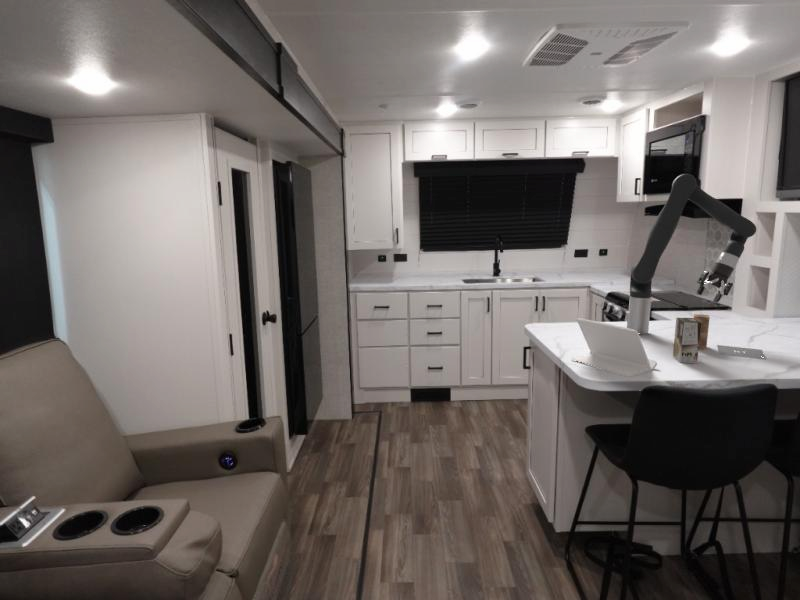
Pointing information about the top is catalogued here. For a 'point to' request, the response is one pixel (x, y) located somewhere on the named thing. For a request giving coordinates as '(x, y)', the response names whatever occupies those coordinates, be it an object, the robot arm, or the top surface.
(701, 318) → the brown wooden block
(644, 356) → the white laptop
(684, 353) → the coffee box
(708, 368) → the top surface
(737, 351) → the tile
